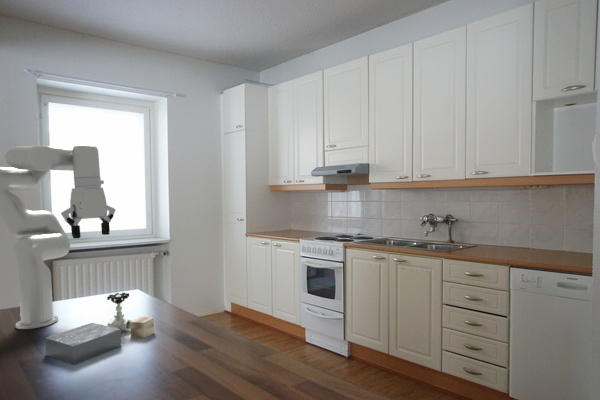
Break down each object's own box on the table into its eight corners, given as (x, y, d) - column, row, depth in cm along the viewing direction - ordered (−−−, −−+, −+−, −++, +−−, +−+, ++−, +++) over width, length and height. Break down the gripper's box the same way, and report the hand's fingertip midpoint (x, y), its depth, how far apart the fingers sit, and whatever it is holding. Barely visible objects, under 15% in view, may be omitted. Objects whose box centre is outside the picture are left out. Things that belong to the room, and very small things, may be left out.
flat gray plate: (45, 355, 111) (44, 337, 111) (93, 338, 123) (92, 322, 123) (74, 364, 104) (73, 346, 104) (121, 346, 116) (120, 329, 116)
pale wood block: (130, 337, 123) (129, 321, 123) (141, 331, 128) (140, 316, 128) (144, 338, 122) (143, 322, 122) (154, 332, 127) (153, 317, 126)
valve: (122, 335, 125) (120, 298, 125) (104, 334, 126) (102, 297, 126) (135, 328, 131) (133, 292, 131) (117, 327, 133) (116, 292, 133)
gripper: (105, 184, 136) (109, 233, 136) (53, 184, 121) (57, 239, 121) (119, 182, 132) (122, 233, 132) (66, 182, 117) (71, 239, 118)
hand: (91, 236), depth 127 cm, fingers open, 9 cm apart
